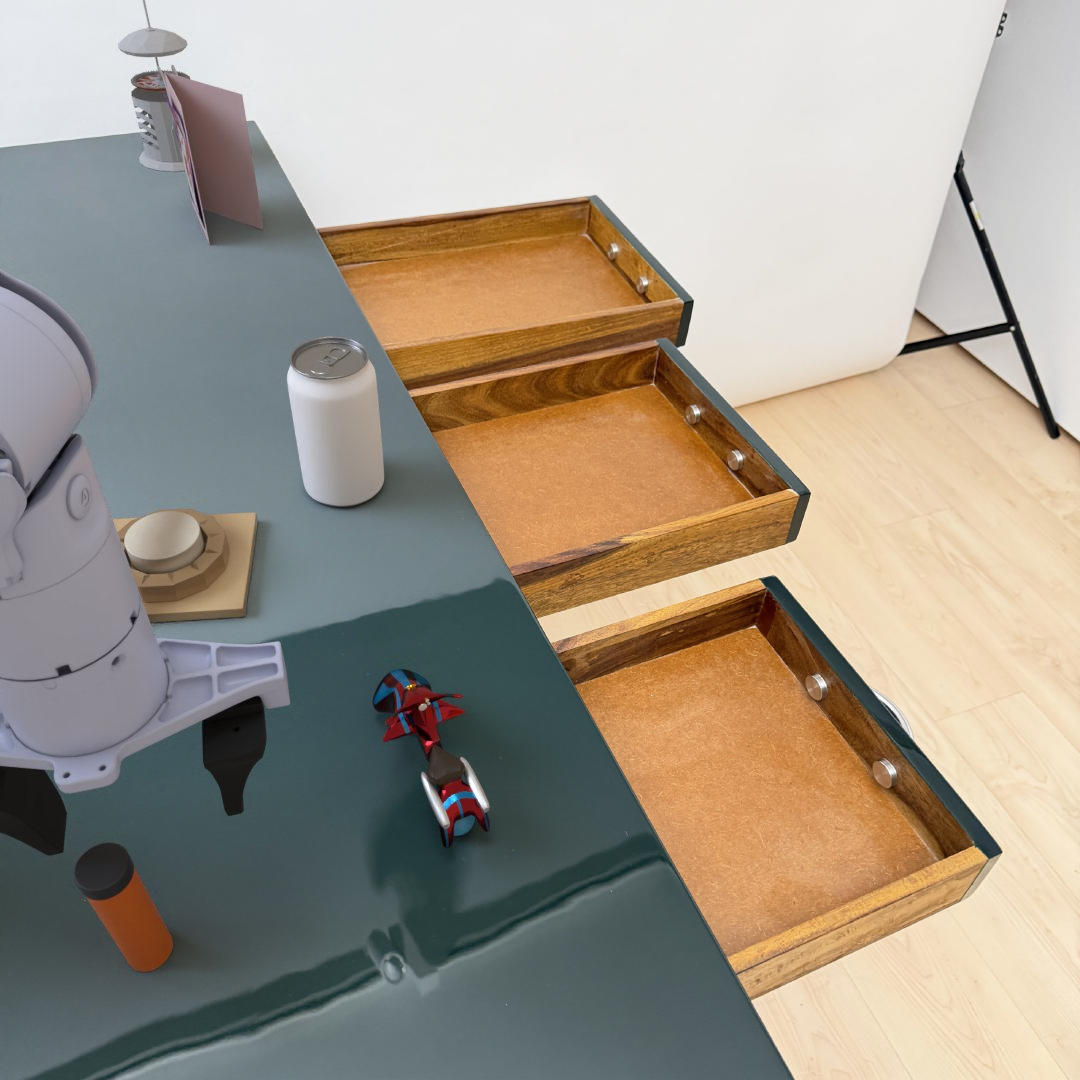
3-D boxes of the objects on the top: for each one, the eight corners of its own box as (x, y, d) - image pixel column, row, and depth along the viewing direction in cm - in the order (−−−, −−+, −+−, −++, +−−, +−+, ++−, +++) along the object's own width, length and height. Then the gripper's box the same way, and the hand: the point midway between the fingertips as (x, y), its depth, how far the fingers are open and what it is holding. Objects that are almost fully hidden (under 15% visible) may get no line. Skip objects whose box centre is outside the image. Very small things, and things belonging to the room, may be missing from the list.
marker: (122, 975, 45) (67, 893, 39) (131, 929, 46) (79, 844, 40) (170, 970, 45) (123, 888, 39) (177, 924, 47) (133, 839, 40)
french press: (202, 139, 125) (160, -76, 108) (230, 169, 118) (190, -56, 101) (129, 150, 121) (74, -72, 103) (154, 181, 114) (98, -51, 96)
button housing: (77, 627, 61) (65, 602, 59) (108, 527, 68) (99, 502, 66) (245, 617, 62) (239, 592, 60) (258, 520, 69) (252, 496, 68)
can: (288, 495, 72) (265, 367, 63) (331, 451, 76) (315, 325, 68) (359, 519, 70) (344, 390, 62) (399, 472, 74) (390, 346, 66)
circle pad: (123, 577, 61) (117, 561, 60) (136, 528, 65) (131, 512, 64) (199, 573, 62) (194, 557, 61) (208, 524, 66) (204, 508, 65)
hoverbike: (432, 680, 59) (430, 624, 55) (509, 833, 51) (513, 780, 48) (357, 706, 57) (349, 650, 53) (425, 869, 50) (422, 817, 46)
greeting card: (185, 206, 109) (156, 72, 99) (247, 198, 112) (225, 67, 101) (201, 246, 102) (172, 106, 91) (267, 237, 104) (246, 100, 94)
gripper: (-216, 755, 27) (-43, 941, 37) (274, 665, 31) (318, 856, 40) (-158, 591, 32) (-18, 792, 41) (260, 529, 36) (302, 728, 45)
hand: (148, 814), depth 41 cm, fingers open, 7 cm apart
